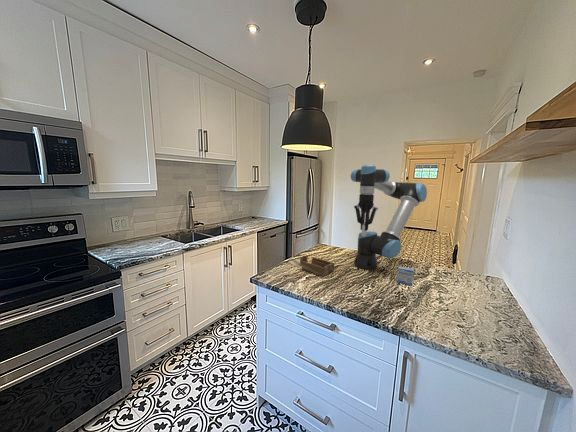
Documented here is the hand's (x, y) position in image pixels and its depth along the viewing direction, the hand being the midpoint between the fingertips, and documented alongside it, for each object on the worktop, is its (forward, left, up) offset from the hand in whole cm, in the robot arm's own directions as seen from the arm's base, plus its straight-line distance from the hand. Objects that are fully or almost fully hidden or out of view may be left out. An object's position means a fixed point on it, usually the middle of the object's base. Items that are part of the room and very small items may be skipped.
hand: (363, 235), depth 137 cm
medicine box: (-14, +20, -27) cm, 36 cm away
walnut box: (+6, -26, -26) cm, 38 cm away
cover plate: (+5, -43, -27) cm, 51 cm away
